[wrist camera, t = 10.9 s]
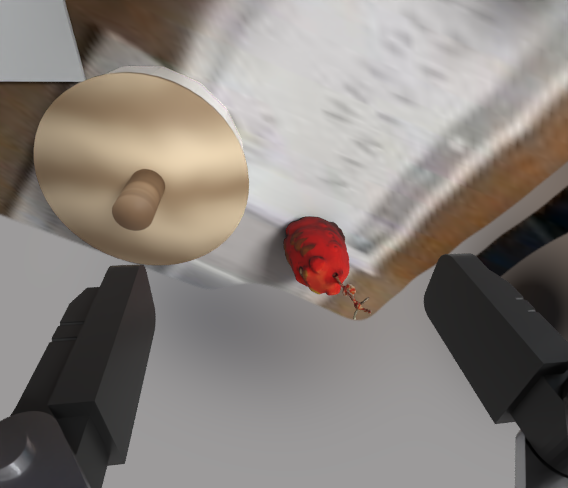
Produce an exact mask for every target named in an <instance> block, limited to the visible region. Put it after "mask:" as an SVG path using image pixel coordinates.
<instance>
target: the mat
mask: <svg viewBox="0 0 568 488" xmlns="http://www.w3.org/2000/svg"><path fill="white" fill-rule="evenodd" d="M85 80H86V77H85V74H84V70H83V66H82V62H81V59H80V55H79V51H78V48H77V44H76V40H75V37H74V33H73V29H72V25H71V22H70V18H69V14H68V11H67V7H66V3H65V0H0V81H16V82H83V81H85Z"/></svg>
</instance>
